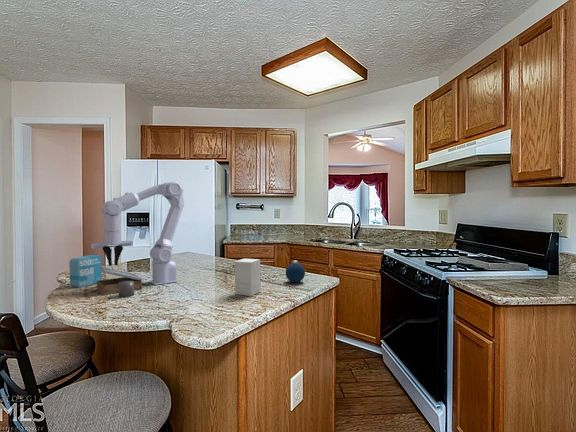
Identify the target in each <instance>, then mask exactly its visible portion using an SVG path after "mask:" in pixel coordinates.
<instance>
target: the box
mask: <svg viewBox="0 0 576 432" xmlns="http://www.w3.org/2000/svg"><path fill="white" fill-rule="evenodd" d="M122 281H134V291H139V290H142V289H143V287H142V285H143V283H142V281H141V280H136V279H131V278H126V277H115V278H108V279H102V280H99V281H97V283H96V290H97V291H98V292H99V293H100V294H101V296H107V295H114V294H119V286H118V283H119V282H122Z"/></svg>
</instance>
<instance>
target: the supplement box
mask: <svg viewBox="0 0 576 432" xmlns="http://www.w3.org/2000/svg"><path fill="white" fill-rule="evenodd" d="M261 289H262V288H261V259H260V258H259V259H257V258H256V259H255V258H241V259H239V260H235V261H234V290H235V291H234V293H235V295H240V296H248V297H252V296H254V294H255V295H257V294H259V293H261V292H260V291H262V290H261ZM258 292H259V293H258ZM256 293H257V294H256Z"/></svg>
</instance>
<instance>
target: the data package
mask: <svg viewBox="0 0 576 432" xmlns="http://www.w3.org/2000/svg"><path fill="white" fill-rule="evenodd" d="M102 261H103V260H102V256H101V255H98V254H88V255H83V256H76V257H72V258H70V259H69V284H70V286H71V287H72V288H84V287H88V286H91V285H95V284H96V285H97V281H99V280H103V274H102V273H103V271H101V270H100V269H99V266H100V267H103V265H102Z"/></svg>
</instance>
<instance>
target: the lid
mask: <svg viewBox="0 0 576 432" xmlns="http://www.w3.org/2000/svg"><path fill="white" fill-rule="evenodd" d="M99 269H100V270H101V271H102V273H104V274H109V275H113V276H116V277H120V278H122V277H126V278H131V279H136V280H141V281H142V280H143V278H142V277H140V276H138V275H137V274H136V273H132V272H127V271H123V270H118V269H112V268H108V267H103V266H102V267H100V266H99Z"/></svg>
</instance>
